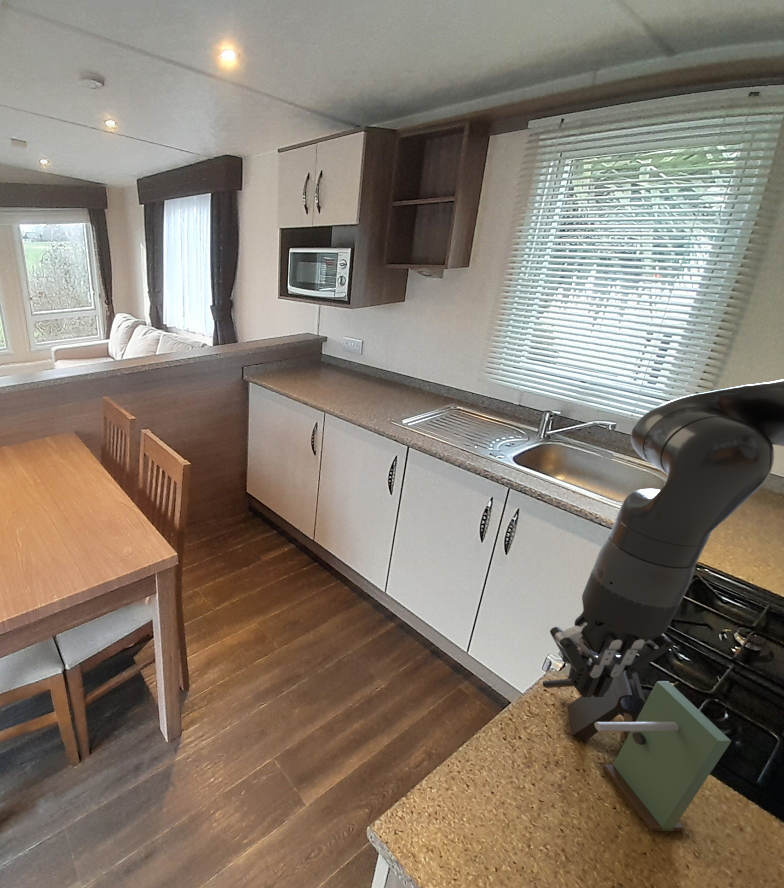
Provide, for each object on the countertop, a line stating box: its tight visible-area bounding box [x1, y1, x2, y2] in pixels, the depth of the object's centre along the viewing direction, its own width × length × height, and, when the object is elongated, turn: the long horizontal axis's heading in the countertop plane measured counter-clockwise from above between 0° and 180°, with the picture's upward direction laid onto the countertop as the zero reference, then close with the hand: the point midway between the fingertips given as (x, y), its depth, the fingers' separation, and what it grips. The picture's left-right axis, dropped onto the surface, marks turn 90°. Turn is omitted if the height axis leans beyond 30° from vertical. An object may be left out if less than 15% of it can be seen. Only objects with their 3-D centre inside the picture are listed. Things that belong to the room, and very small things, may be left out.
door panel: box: [595, 680, 732, 832], centre depth 61 cm, size 8×12×18 cm, turn 89°
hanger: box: [542, 650, 579, 689], centre depth 64 cm, size 9×1×5 cm
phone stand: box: [567, 671, 647, 742], centre depth 71 cm, size 9×6×12 cm, turn 58°
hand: (587, 691), depth 60 cm, fingers closed on hanger, 1 cm apart
